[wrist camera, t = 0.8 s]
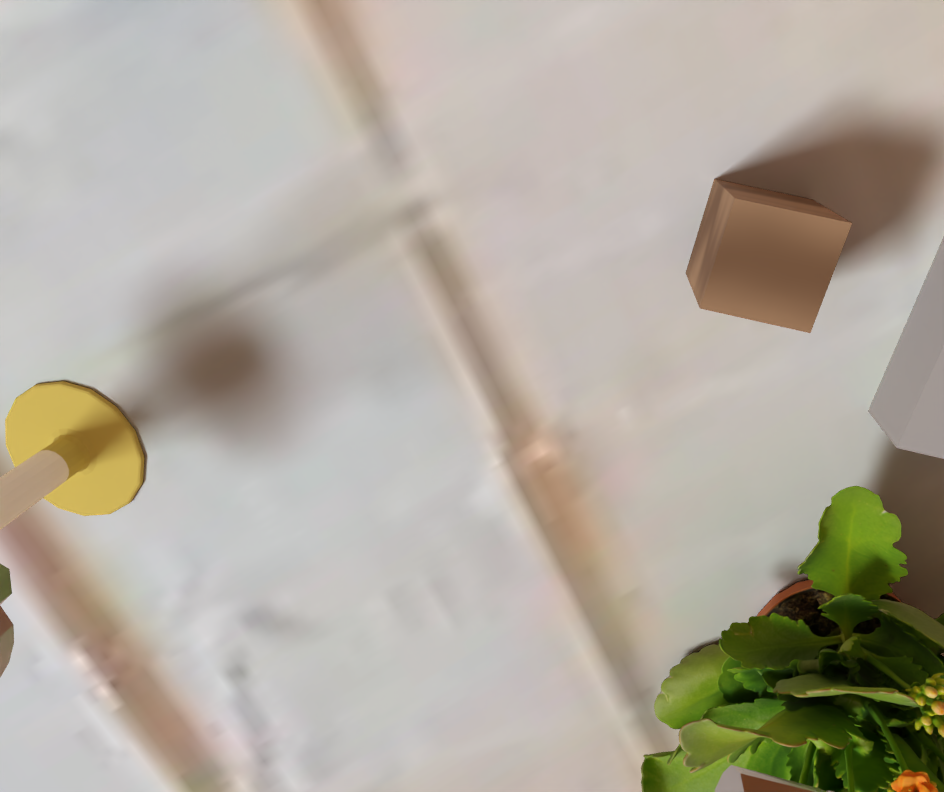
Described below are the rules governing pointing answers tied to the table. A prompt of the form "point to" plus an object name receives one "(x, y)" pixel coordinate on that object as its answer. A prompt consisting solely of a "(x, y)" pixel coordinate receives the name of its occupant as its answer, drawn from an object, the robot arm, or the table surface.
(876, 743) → the potted flower
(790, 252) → the walnut block
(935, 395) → the plate
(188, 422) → the table surface
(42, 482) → the wheel axle
